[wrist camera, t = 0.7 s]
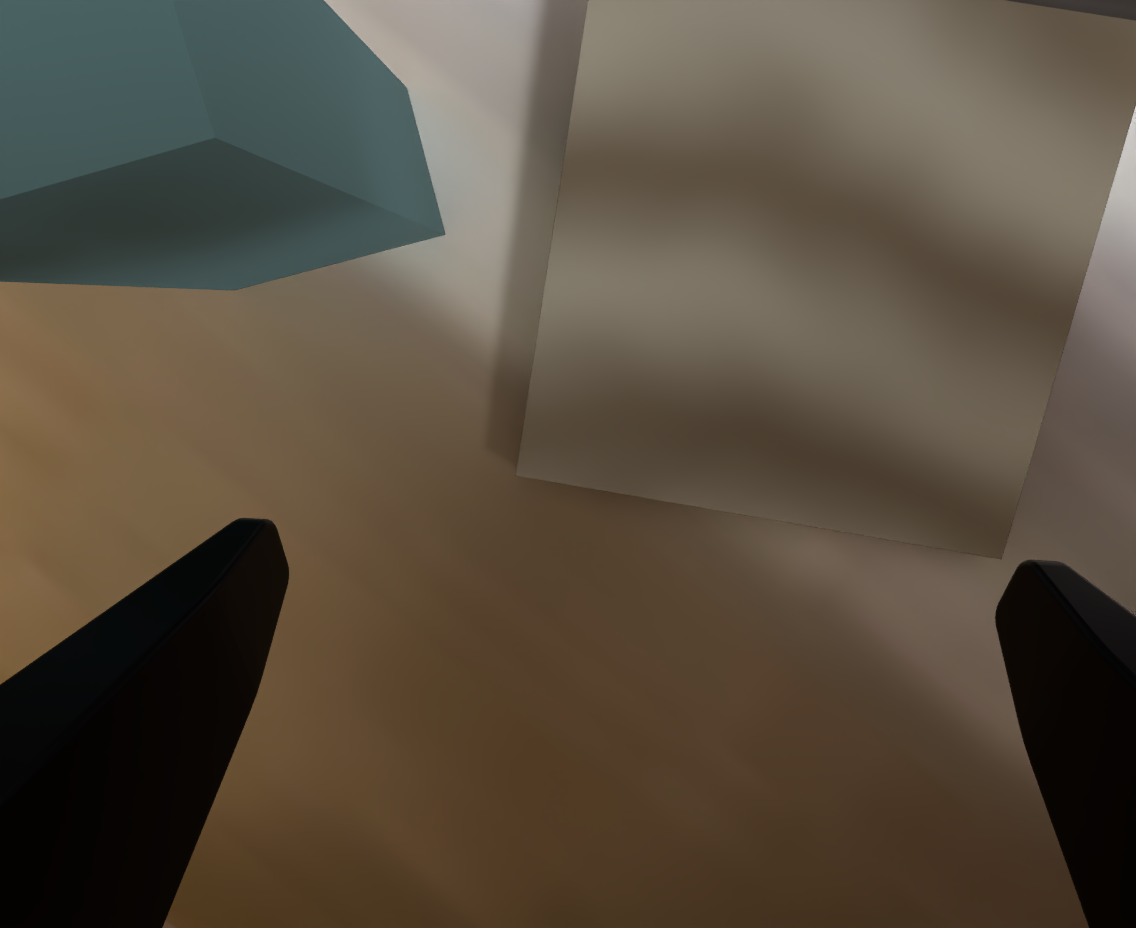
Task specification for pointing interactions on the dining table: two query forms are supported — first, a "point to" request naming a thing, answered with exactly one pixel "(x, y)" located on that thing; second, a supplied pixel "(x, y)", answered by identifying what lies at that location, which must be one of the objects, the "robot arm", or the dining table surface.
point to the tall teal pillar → (199, 144)
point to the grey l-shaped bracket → (825, 254)
